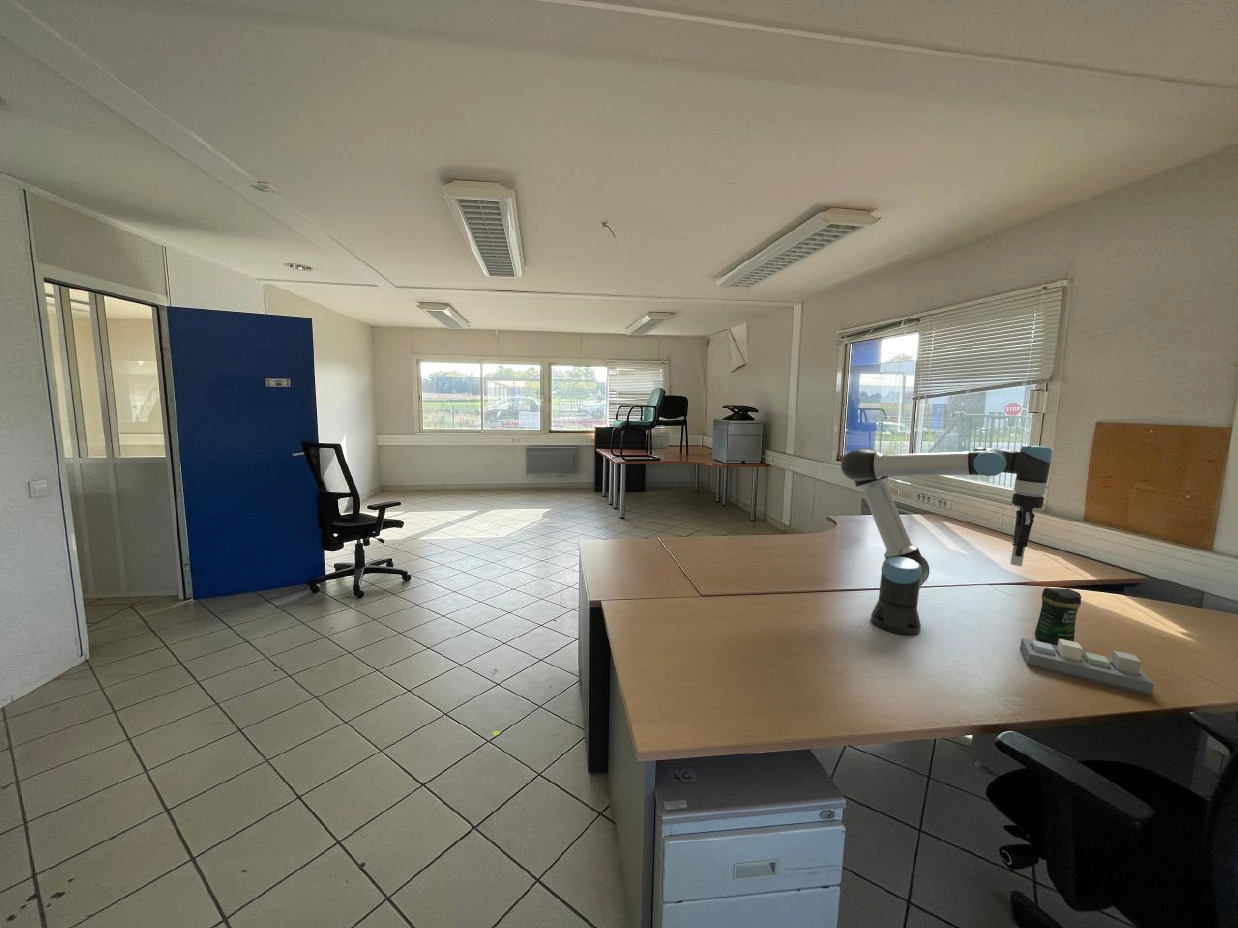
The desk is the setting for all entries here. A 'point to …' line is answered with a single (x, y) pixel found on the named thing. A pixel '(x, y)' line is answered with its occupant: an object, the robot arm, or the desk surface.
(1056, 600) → the coffee jar
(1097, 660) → the key sage
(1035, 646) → the key blue
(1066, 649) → the key cream
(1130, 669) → the key grey
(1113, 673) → the keypad
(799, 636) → the desk surface
